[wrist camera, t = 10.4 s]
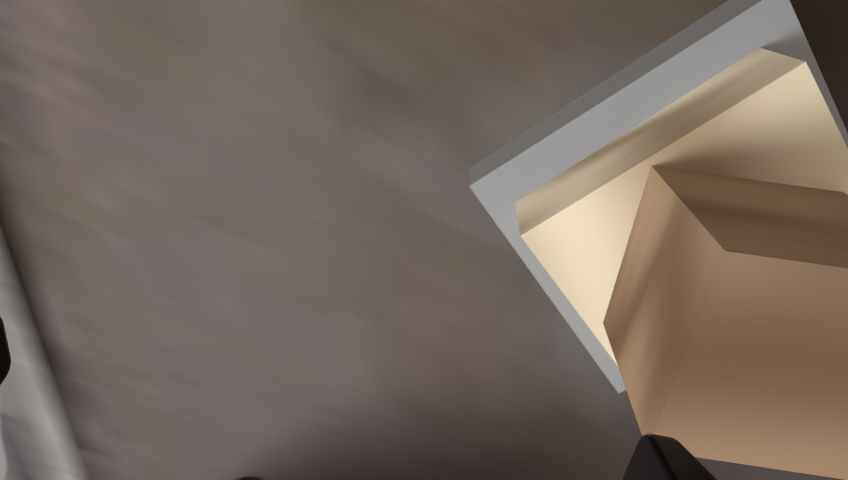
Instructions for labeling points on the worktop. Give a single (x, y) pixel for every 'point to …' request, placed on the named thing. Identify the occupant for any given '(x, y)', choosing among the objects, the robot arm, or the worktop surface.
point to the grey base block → (631, 122)
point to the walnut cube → (737, 320)
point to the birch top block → (684, 150)
